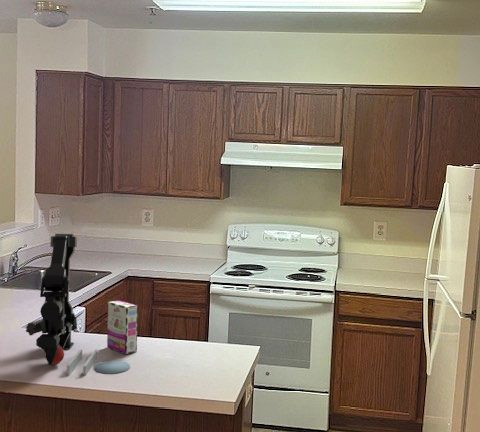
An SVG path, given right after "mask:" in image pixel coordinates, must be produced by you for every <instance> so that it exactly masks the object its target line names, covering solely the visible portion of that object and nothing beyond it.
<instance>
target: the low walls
mask: <svg viewBox="0 0 480 432" xmlns="http://www.w3.org/2000/svg"><path fill="white" fill-rule="evenodd" d="M82 360H83V349H79V350H78V351H77V352H76V354H75V355H74V356H73V358H71V360H70V361H69V362H68V364H67V365H66V375H67V376H70V375H71V373H72V372H73V371H74V370H75V369H76V367H77V366H78V365H79V363H80V362H81V361H82ZM96 361H98V350H97V349H95V350H93V352H92V354H90V356H89V357H88V359H87V360H86V362H85V363H84V364H83V366H82V367H83V368H82V371H83V372H82V376H87V375H88V373H89V372H90V371H91V369H92V367H94V364H95V363H96Z"/></svg>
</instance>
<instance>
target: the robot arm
mask: <svg viewBox="0 0 480 432" xmlns="http://www.w3.org/2000/svg"><path fill="white" fill-rule="evenodd" d="M77 245H78V237H77V236H74V234H73V233H55V234H54V236H50V247H52V254H51V260H50V265H49V266H48V267H47V268H46V269H45V272H44V276H42V277H41V285H40V295H39V296H40V298H44V302H43V304H42V305H41V307H40V310H39V311H40V315H41V317H42V319H39V320H33V321H31V322H28V323H27V325H26V326H25V329H26V330H25V332H26V333H28V335H29V336H34V334H37V333H41V335H40V336H39V337H38V338H36V341H35V343H36V344H35V345H36V347H38V348H40V349H41V350H43V352H44V356H45V355H46V358H47V360H46V361H47V365H48V366H53V365H52V364H53V361H54V358H55V356H56V353H57V350H58V347H59V345H60V346H61V347H62V349H63V350H70V349H71V348H72V347H73V346H74V344H75V343H74V342H72V331H73V332H74V331H75V330H78V321H77V317H76V314H75V313H74V308H73V305H72V304H71V303H70V301H69V300H70V298H69V297H70V294H69V293H70V271H71V270H70V268H71V267H70V266H71V258H72V257H73V255H74V254H75V252H76V248H77ZM46 358H45V359H46Z"/></svg>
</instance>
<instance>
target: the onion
mask: <svg viewBox="0 0 480 432" xmlns="http://www.w3.org/2000/svg"><path fill="white" fill-rule="evenodd" d="M64 357H65V352H64V349H62V347H61V346H60V345H59V347H58V350H57V353H56V356H55V358H54V361H53V364H52V365H51V366H53V367H55V366H57V365H58V364H60V363H61V362H62V361H63V360H64ZM44 358H45V360H46V361H47V358H46V355H45V354H44Z"/></svg>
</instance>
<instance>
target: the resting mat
mask: <svg viewBox="0 0 480 432" xmlns="http://www.w3.org/2000/svg"><path fill="white" fill-rule="evenodd" d="M130 369H131V365H130V363H128V362H126V361H122V360H105V361H102V362H99V363H96V364H95V366H94V371H96V372H98V373H101V374H106V375H107V374H111V375H112V374H113V375H114V374H121V373H124V372H127V371H129V370H130Z"/></svg>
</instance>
